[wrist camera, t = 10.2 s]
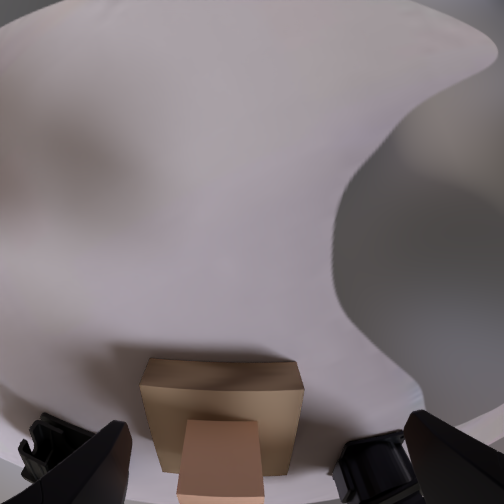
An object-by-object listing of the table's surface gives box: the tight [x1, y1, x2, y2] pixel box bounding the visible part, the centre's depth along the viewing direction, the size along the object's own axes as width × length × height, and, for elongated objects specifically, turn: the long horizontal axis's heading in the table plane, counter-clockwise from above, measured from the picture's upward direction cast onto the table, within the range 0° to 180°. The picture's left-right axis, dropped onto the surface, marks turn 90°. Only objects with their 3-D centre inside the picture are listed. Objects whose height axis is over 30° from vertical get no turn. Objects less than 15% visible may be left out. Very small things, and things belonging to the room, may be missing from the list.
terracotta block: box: [176, 420, 265, 504], centre depth 15 cm, size 4×4×6 cm
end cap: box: [18, 412, 129, 504], centre depth 19 cm, size 10×7×7 cm
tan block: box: [139, 358, 305, 476], centre depth 19 cm, size 10×10×3 cm
